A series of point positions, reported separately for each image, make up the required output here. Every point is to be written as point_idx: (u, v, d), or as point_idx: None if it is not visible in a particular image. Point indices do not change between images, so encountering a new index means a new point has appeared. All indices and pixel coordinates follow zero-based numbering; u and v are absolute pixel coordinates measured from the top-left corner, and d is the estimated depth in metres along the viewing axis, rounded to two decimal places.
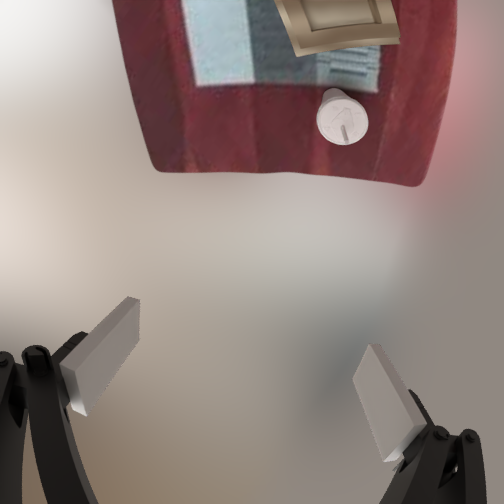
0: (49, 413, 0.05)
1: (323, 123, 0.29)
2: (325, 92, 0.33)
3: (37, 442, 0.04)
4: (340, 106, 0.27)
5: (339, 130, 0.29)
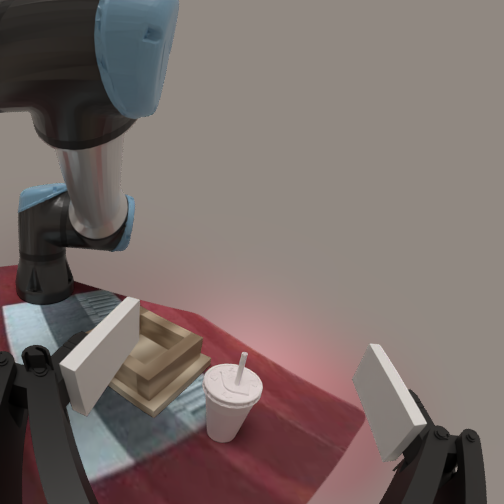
0: (49, 413, 0.05)
1: (220, 393, 0.25)
2: None
3: (37, 442, 0.04)
4: (215, 373, 0.27)
5: (238, 387, 0.26)
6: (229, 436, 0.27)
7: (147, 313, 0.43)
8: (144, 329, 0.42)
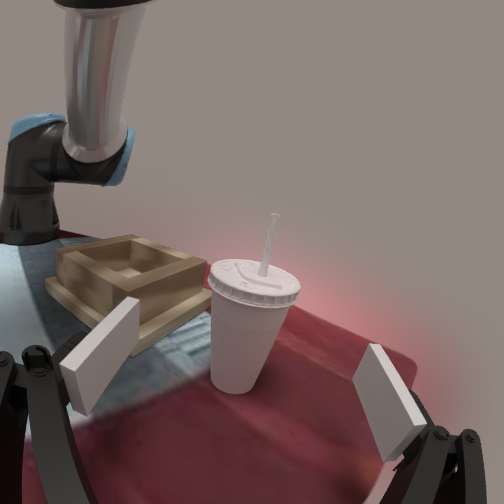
0: (49, 413, 0.05)
1: (237, 283, 0.17)
2: None
3: (37, 442, 0.04)
4: (228, 265, 0.20)
5: (265, 279, 0.18)
6: (246, 381, 0.19)
7: (138, 239, 0.35)
8: (133, 259, 0.35)
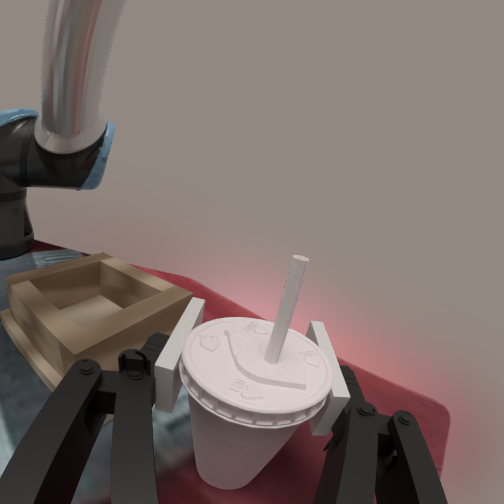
0: (137, 416, 0.07)
1: (226, 386, 0.08)
2: (195, 459, 0.12)
3: (117, 442, 0.06)
4: (213, 336, 0.11)
5: (277, 369, 0.10)
6: (245, 480, 0.11)
7: (110, 260, 0.27)
8: (104, 285, 0.26)
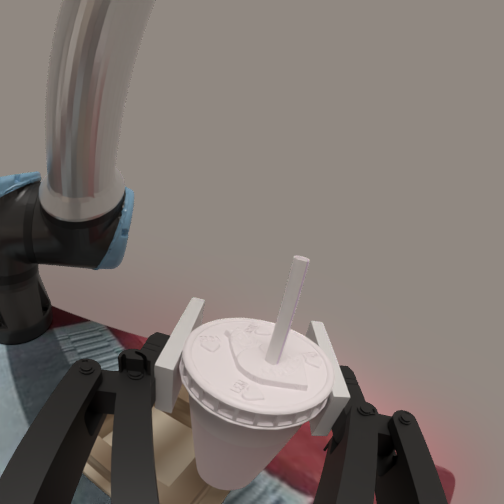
0: (138, 416, 0.07)
1: (227, 387, 0.08)
2: None
3: (117, 442, 0.06)
4: (214, 336, 0.11)
5: (278, 370, 0.10)
6: (245, 481, 0.11)
7: None
8: None
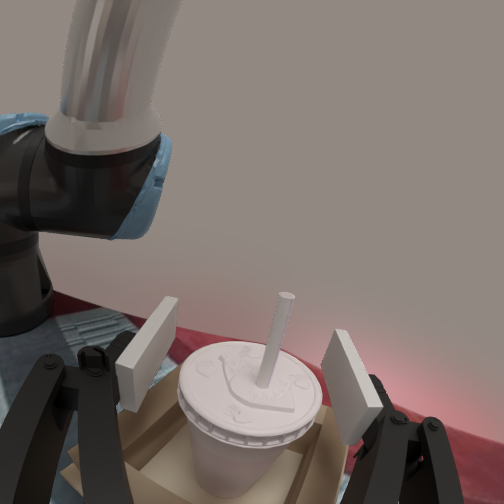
0: (100, 413, 0.06)
1: (220, 411, 0.09)
2: None
3: (83, 440, 0.05)
4: (208, 361, 0.12)
5: (268, 394, 0.10)
6: (243, 490, 0.11)
7: None
8: None
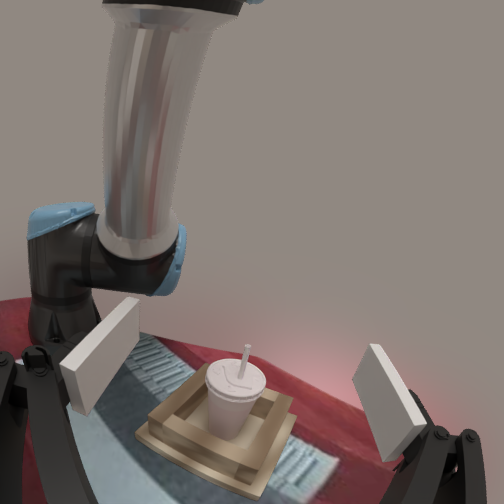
0: (49, 413, 0.05)
1: (223, 387, 0.24)
2: None
3: (37, 442, 0.04)
4: (218, 368, 0.27)
5: (242, 381, 0.26)
6: (232, 433, 0.27)
7: None
8: None
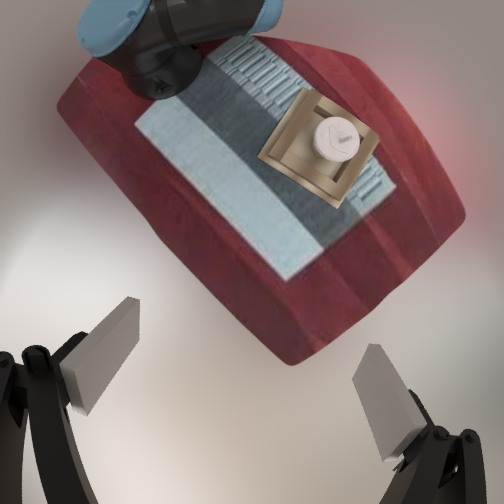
0: (49, 413, 0.05)
1: (327, 151, 0.33)
2: (312, 146, 0.41)
3: (37, 442, 0.04)
4: (324, 129, 0.33)
5: (341, 146, 0.33)
6: None
7: (322, 101, 0.37)
8: (318, 111, 0.39)
